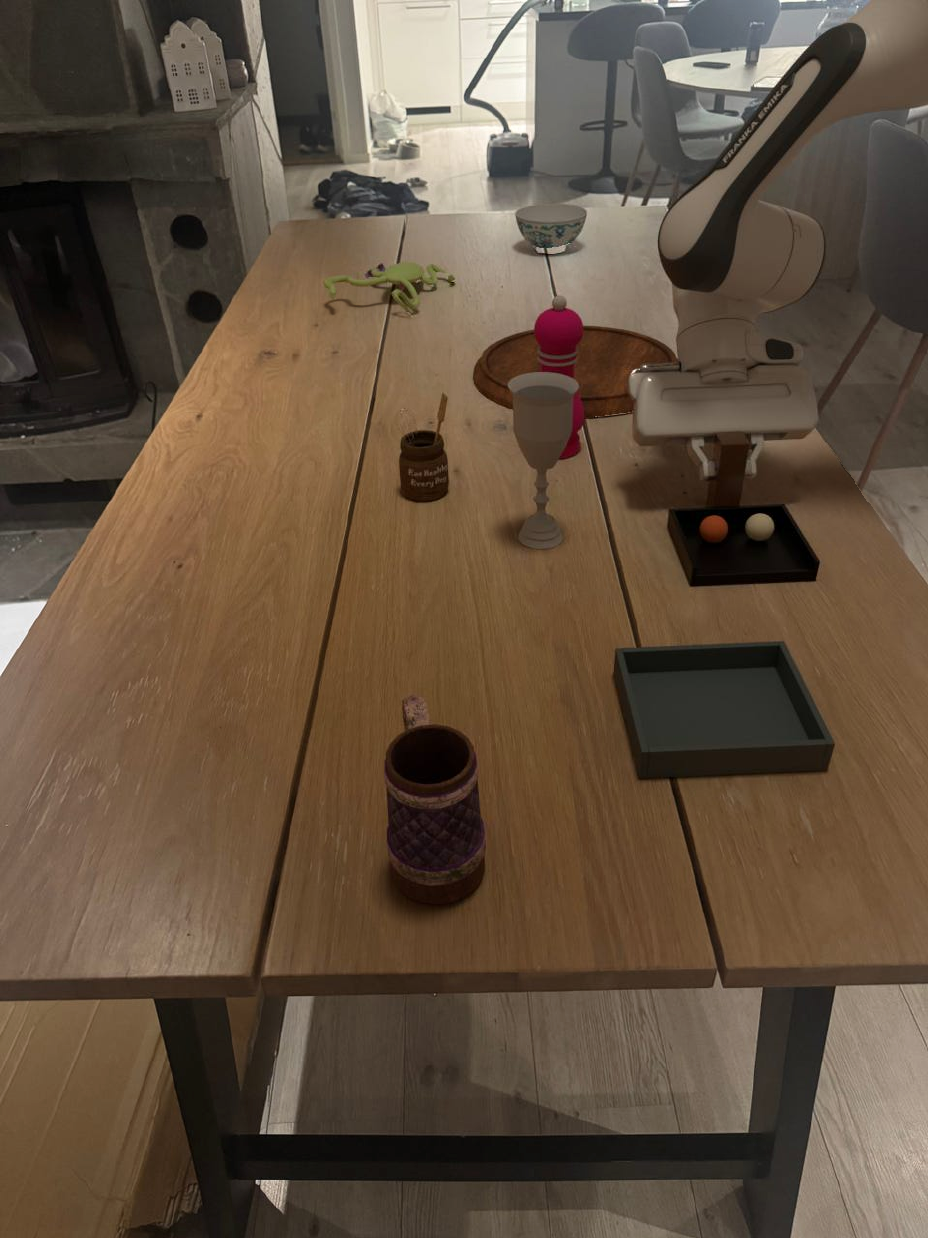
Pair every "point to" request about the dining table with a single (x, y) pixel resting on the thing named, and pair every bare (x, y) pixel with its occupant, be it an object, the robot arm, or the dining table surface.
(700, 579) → the pan
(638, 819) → the dining table surface
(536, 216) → the chinaware
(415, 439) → the utensil holder
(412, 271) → the figurine
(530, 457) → the chalice
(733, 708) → the tray
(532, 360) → the cutting board
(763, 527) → the ball
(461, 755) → the mug
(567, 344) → the pepper mill
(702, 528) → the ball
